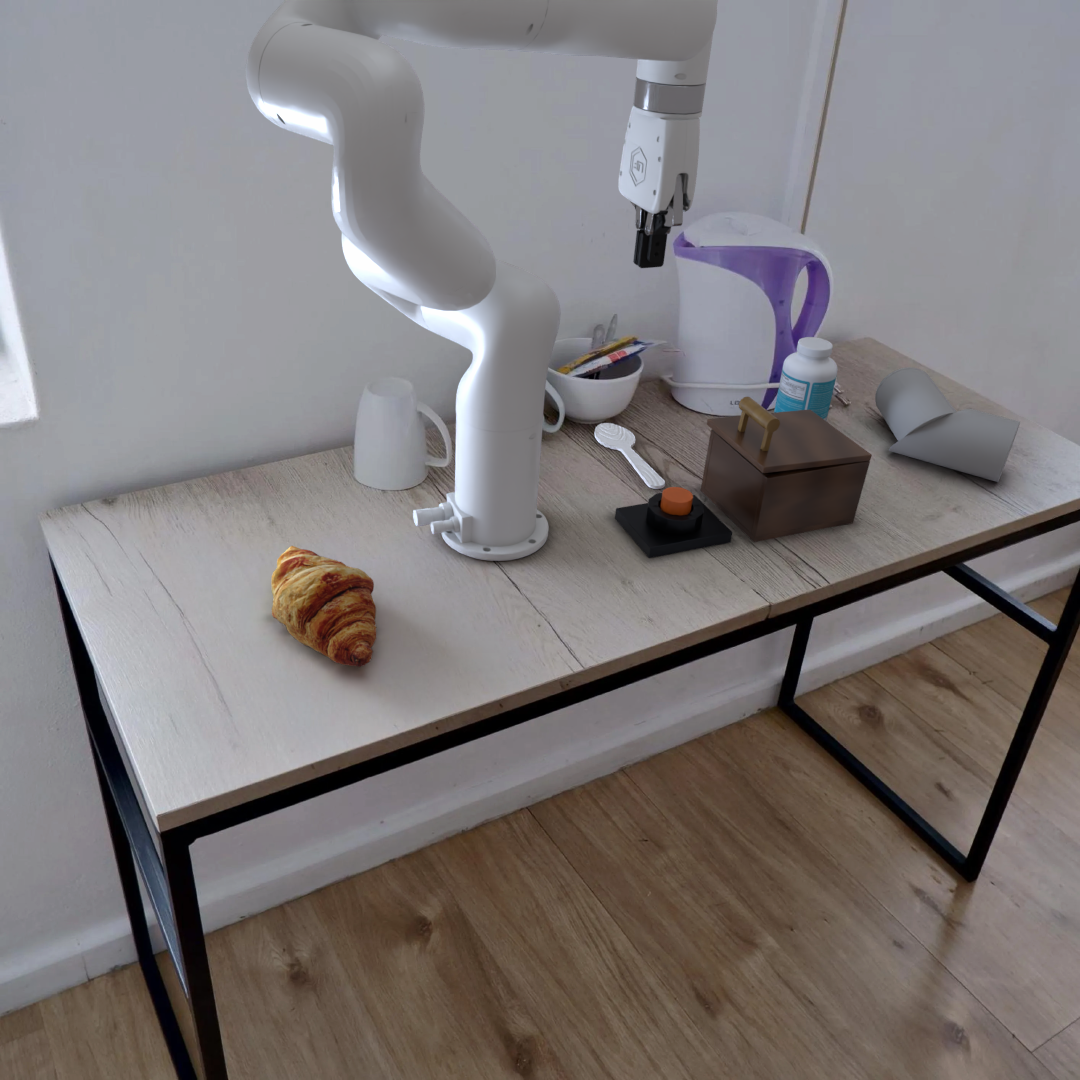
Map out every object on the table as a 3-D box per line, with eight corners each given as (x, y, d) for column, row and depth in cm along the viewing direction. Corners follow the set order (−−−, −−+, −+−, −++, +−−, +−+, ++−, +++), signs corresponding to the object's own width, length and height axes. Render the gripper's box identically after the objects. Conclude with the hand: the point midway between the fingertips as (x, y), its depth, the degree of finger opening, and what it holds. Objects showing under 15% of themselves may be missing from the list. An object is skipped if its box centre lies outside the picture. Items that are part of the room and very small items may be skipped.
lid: (762, 473, 115) (773, 433, 112) (706, 424, 124) (714, 386, 121) (870, 460, 120) (882, 422, 118) (808, 414, 130) (818, 378, 127)
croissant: (267, 597, 111) (225, 552, 105) (340, 541, 113) (303, 494, 107) (342, 713, 96) (299, 667, 90) (426, 646, 98) (388, 597, 92)
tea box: (753, 542, 120) (767, 478, 115) (700, 490, 130) (710, 429, 125) (853, 523, 125) (870, 461, 120) (794, 474, 135) (808, 415, 130)
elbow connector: (844, 446, 140) (994, 490, 132) (866, 372, 136) (1022, 412, 128) (869, 426, 154) (1006, 464, 147) (890, 358, 151) (1031, 393, 143)
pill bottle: (819, 422, 149) (839, 335, 141) (826, 445, 142) (848, 356, 135) (768, 417, 149) (786, 330, 141) (772, 440, 143) (791, 350, 135)
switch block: (649, 558, 116) (652, 533, 114) (614, 518, 123) (617, 493, 121) (730, 542, 120) (735, 517, 118) (692, 504, 127) (697, 480, 125)
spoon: (640, 491, 128) (641, 487, 128) (586, 427, 142) (586, 424, 142) (678, 486, 130) (678, 482, 130) (620, 423, 144) (621, 420, 144)
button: (669, 518, 118) (671, 504, 116) (654, 503, 120) (656, 489, 119) (696, 514, 119) (698, 499, 118) (681, 498, 122) (683, 484, 120)
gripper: (607, 85, 113) (592, 247, 123) (671, 113, 102) (649, 289, 112) (665, 85, 116) (646, 244, 126) (735, 112, 105) (707, 284, 115)
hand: (648, 265), depth 119 cm, fingers closed
